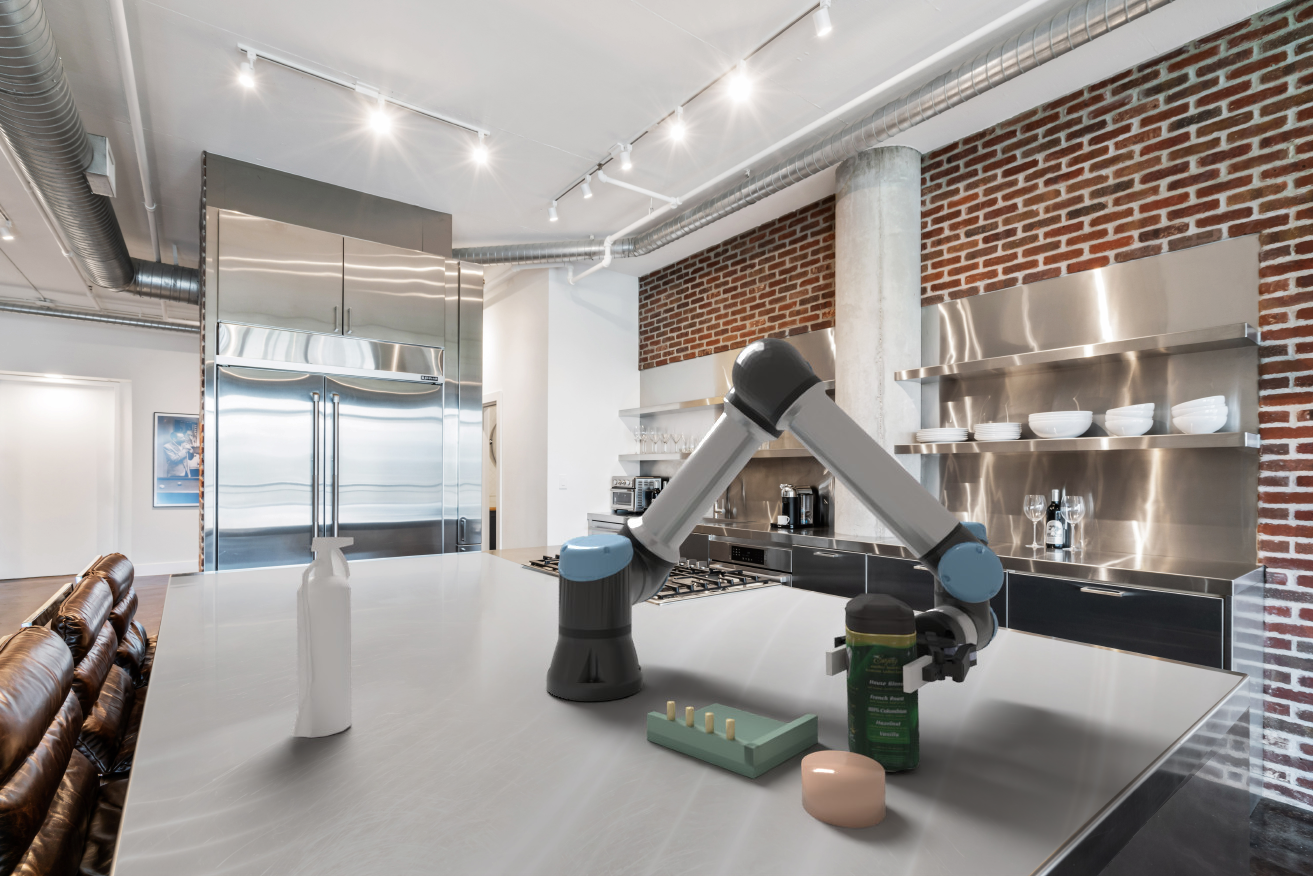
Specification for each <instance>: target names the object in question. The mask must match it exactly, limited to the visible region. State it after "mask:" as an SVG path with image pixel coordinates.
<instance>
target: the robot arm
mask: <svg viewBox="0 0 1313 876" xmlns="http://www.w3.org/2000/svg"><path fill="white" fill-rule="evenodd" d="M731 381H732V386H731V388H730V389H729V390H728V392H727V393H726V394H725V395H724V396H723V397H722V398H723V399H722V400H723V408H724V409H723V412H722V414H721V415H720V416H719V417H718V419H717V420H716V422H714V424H712V426H711V428H710V429H709V430H708V431H707V432H706V434H705V435H704V437H702V439H701V440H700V442H699V443H698V444H697V445H696V446H695V448H694V449H693V450H692V451H691V453H690V455H688V457H687V458H686V459H685V461H684V462H683V463H682V464H681V465H680V467H679V468H678V470H677V471H676V472H675V473H674V474H673V476H672V477H671V478H670V480H669V481H668V482H667V483H666V484H665V485H664V487H663V489H662V490H661V491H660V493H658V495H657V496H656V498H655V499H654V500H653V501H652V503H650V504H649V506H648V508H647V509H646V510H645V511H644V513H642V515H641V516H635V517H629V518H628V519H627V521H626V522H625V523H624V524H623V526H622V527H621V528H620V529H619V531H617V534H613V533H612V534H611V533H603V534H600V533H599V534H590V535H589V534H588V535H587V536H585V535H583V536H578V537H575V538H571V539H568V540H567V541H565V542H564V543H563V544H562V546H561V548H560V550H559V551H560V552H559V561H558V563H557V565H558V566H557V569H558V570H557V571H558V634H557V635H558V637H557V642H556V645H555V647H554V650H553V651H554V652H553V655H552V658H551V662H550V666H549V668H548V670H547V672H546V691H547V690H548V691H547V692H548V693H549V692H550V693H551V694H550V693H549V694H550V695H552V694H553V695H552V696H554V695H555V696H554V697H556V696H558V697H557V698H559V697H561V699H563V698H564V700H568V699H569V700H570V701H578V702H604V701H611V700H612V701H613V700H617V699H622V698H628V697H630V696H632V695H634V694H636V693H639V692H640V690H642V688H643V682H644V681H643V675H644V674H643V670H642V669H643V668H642V666H641V665H640V664H639V658H638V654H637V650H636V646H635V644H634V641H633V637H632V636H633V634H632V632H633V631H632V627H633V624H632V622H633V620H632V618H633V617H632V616H633V606H634V605H637V604H640V603H644V602H647V601H650V600H651V599H652V598H654V597H656V596H657V595H658V594H659V593H660V592H661V591H662V589H664V587H665V585H666V584H667V582H668V580H669V577H670V573H671V572H672V570H673V569H674V568H675V566H676V565H677V564H678V563H679V561H680V559H681V554H680V547H681V545H682V544H683V543H684V542H685V540H686V539H687V538H688V536H689V535H690V534H691V533H692V532H693V531H694V529H695V528H696V526H697V525H698V524H699V523H700V522H701V520H702V519H703V518H704V517H705V515H707V513H708V512H709V511H710V509H711V508H712V507H713V506H714V504H716V502H717V501H718V499H720V497H721V496H722V494H723V493H724V492H725V491H726V489H728V487H729V486H730V485H731V483H732V482H733V481H734V480H735V478H736V477H737V476H738V474H739V473H741V471H742V470H743V468H744V467H745V466H746V465H747V464H748V462H749V461H750V460H751V458H752V457H753V456H754V455H755V454H756V453H757V451H758V450H759V448H760V447H761V446H762V445H763V443H767V442H772V441H773V442H774V441H778V440H779V439H780V438H781V435H782V434H784V432H785V431H787V432H789V433H790V434H791V435H792V436H793V437H794V438H795V439H796V440H797V441H798V442H799V443H800V444H801V445H802V446H803V447H804V448H805V449H806V450H807V451H808V452H809V453H810V454H811V455H812V456H813V457H815V459H816V460H817V461H818V462H819V463H820V464H821V465H822V466H823V467H824V468H825V469H826V470H827V471H828V472H829V473H830V474H831V475H832V476H833V477H834V478H836V479H837V481H838V482H839V483H841V484H842V485H843V486H844V488H845V489H846V490H847V491H849V493H851V495H852V496H854V497H855V498H856V500H858V502H859V503H861V504H862V505H863V506H864V507H865V508H866V510H868V512H870V513H871V514H872V516H874V517H875V518H876V520H877V521H879V522H880V523H881V524H882V525H883V526H884V527H885V528H886V529H887V530H888V531H889V532H890V533H891V534H892V535H893V536H894V537H895V538H896V539H897V540H898V541H899V542H900V543H901V544H902V545H904V547H905V548H906V549H907V550H908V551H909V552H910V553H911V554H912V555H913V556H914V557H915V558H916V559H917V560H918V561H919V562H920V563H921V564H922V565H923V567H925V568H926V569H927V570H928V571H929V573H931V574H932V575H933V581H934V582H933V583H934V590H933V591H934V593H933V595H934V598H933V599H934V608H931V609H929V610H926V611H924V612H921V613H919V614H916V615H915V626H916V646H917V660H915V661H913V662H911V663H909V664H907V665H905V666H903V685H904V692H907V693H912V692H913V691H915V690H917V689H918V690H919V689H921V688H922V687H924V686H925V685H928V683H935V682H937V681H939V682H940V681H945V680H946V678H947V677H949V678H951V681H952V682H955V683H959V684H960V683H964V681H965V679H966V678H967V675H968V673H969V671H970V668H972V667H975V666H977V665H978V660H977V654H978V653H977V652H980V651H981V650H983V649H985V648H987V647H988V646H989V645H990V643H991V642H993V640H994V639H995V637H996V636H997V633H998V630H999V621H998V618H997V617H998V616H997V614H996V612H994V610H993V608H992V607H991V605H990V599H992V598H993V597H995V596H996V595H997V594H998V593H999V592H1000V590H1001V588H1002V586H1003V584H1004V580H1005V571H1004V568H1003V564H1002V562H1001V560H1000V559H1001V558H1000V557H999V555H998V554H996V552H995V551H993V550H992V549H991V547H989V544H990V543H989V540H988V535H987V528H986V526H985V524H983V523H982V522H977V521H976V522H975V521H960V520H959V519H958V518H957V517H956V516H955V515H954V514H953V513H952V512H950V511H949V510H948V509H947V508H946V506H945V505H943V504H942V503H941V502H940V501H939V500H938V499H937V498H936V497H935V496H934V495H933V494H932V493H931V492H930V491H929V490H928V489H926V488H925V487H924V486H923V484H921V483H920V482H919V481H918V480H917V479H916V478H915V477H914V476H912V475H911V473H910V472H909V471H908V470H907V469H905V468H904V467H903V466H902V465H901V464H900V463H899V462H898V461H897V460H896V459H895V458H893V456H892V455H891V454H889V452H887V451H886V449H884V448H883V447H882V446H881V445H880V444H879V443H878V442H877V441H876V440H875V439H874V438H873V437H872V436H871V435H869V433H867V431H865V430H864V429H863V428H862V427H861V426H860V425H859V424H858V423H857V422H856V421H855V420H854V419H853V418H852V417H851V416H850V415H849V414H847V412H845V411H844V409H842V408H841V407H840V406H839V405H838V404H837V403H836V402H835V401H833V399H832V398H830V396H829V395H828V394H827V393H826V382H824V381H823V380H822V379H821V378H820V377H819V376H818V375H817V374H816V373H815V372H814V370H813V367H812V366H811V364H810V362H808V361H807V360H806V359H805V358H804V357H803V355H802V354H801V352H800V351H799V350H798V349H797V348H796V347H795V346H794V345H793V344H791V343H790V342H788V341H786V340H784V339H782V338H777V337H764V338H759V339H756V340H754V341H752V342H750V343H748V344H747V345H746V346H745V347H743V348H742V349H741V350H740V351H739V353H738V354H737V355H736V358H735V360H734V362H733V366H732V369H731ZM833 641H834V646H833V647H834V648H831V649H829V650H827V651H825V673H826V676H831V677H833V676H836V675H838V674H839V673H840V674H841V673H842V672H844V671H846V634H845V635H842V636H836V637H834V638H833Z"/></svg>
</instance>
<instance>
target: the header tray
mask: <svg viewBox="0 0 1313 876" xmlns="http://www.w3.org/2000/svg"><path fill="white" fill-rule="evenodd" d="M818 722H819V721H818V715H816V714H814V713H809V712H808V713H807V714H805V715H803V716H801V717H799V718H797V719H794V720H793V721H791V722H789V723H787V722H784V721H780V720H776V719H773V718H770V717H766V716H762V715H760V714H757V713H756V714H755V713H752V712H750V711H746V710H742V709H739V708H735V707H731V706H727V705H724V704H720V703H718V702H714V703H712V704H710V705H707V706H704V707H702V708H700V709H697V710H695V708H694V707H693V706H687V707H685V715H681V716H679V717H676V702H675V701H673V700H668V701H666V714H664V713H661V712H658V711H655V710H652V711H651V712H647V714H646V740H647V741H649V742H652V743H655V744H657V745H659V746H663V747H665V748H668V749H671V750H674V751H677V752H679V753H681V754H685V755H686V756H687V755H688V756H690V757H692V758H696V759H699V760H701V761H703V762H707V763H709V764H711V765H713V766H717V767H719V768H724V769H726V770H728V771H731V772H734V773H736V774H739V775H742V776H744V777H747V778H750V779H756V778H757V777H760V776H761V775H763V774H765V773H767V772H768V771H770V770H771V769H773V768H775V767H777V766H778V765H780V764H782V763H784V762H786V761H787V760H789V759H792V757H794V756H796V755H797V754H800V753H802V752H803V751H805V750H807V749H809V748H810V747H812V746H814V745H815V744H817V743H818V742H819V731H818V730H819V729H818V728H819V727H818Z"/></svg>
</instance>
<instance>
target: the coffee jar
mask: <svg viewBox="0 0 1313 876" xmlns="http://www.w3.org/2000/svg"><path fill="white" fill-rule="evenodd" d="M844 611H845V615H844V616H845V618H844V619H845V620H844V622H845V625H844V626H845V635H846V670H845V671H846V695H847V697H846V699H847V700H846V702H847V706H846V707H847V709H846V710H847V746H848V752H852V753H856V754H860V755H863V756H866V757H869V758H871V759H873V760H875V761H876V762H878V763H879V764H880V765H881V766H882V767H883V768H884V770H885V772H890V773H892V772H893V773H894V772H899V771H905V770H914V769H916V768H917V767H918V766H919V765H920V761H921V759H920V757H921V756H920V752H921V751H920V746H921V744H920V718H919V715H920V714H919V689H917V690H915V691H913V692H912V693H907V692H904V685H903V666H905V665H907V664H909V663H911V662H913V661H915V660H917V646H916V626H915V616H916V615H915V611H914V610H913V608H912V607H910V605H909V604H908V603H906V602H903V601H902V600H900V599H898V598H896V597H895V596H894V595H893V594H887V593H872V592H871V593H869V592H868V593H867V592H866V593H859V594H858V595H857V596H856V597H853V598H851V599H850V600H848V601H847V602H846V604H845V607H844Z"/></svg>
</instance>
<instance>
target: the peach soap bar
mask: <svg viewBox="0 0 1313 876" xmlns="http://www.w3.org/2000/svg"><path fill="white" fill-rule="evenodd" d="M800 767H801V805H802V807H803V809H804V810H805V812H806V813H807V814H809V815H810V816H811V817H813V818H815V819H816V820H818V821H821V822H822V823H826V824H828V825H831V826H836V827H841V828H849V829H850V828H851V829H853V828H854V829H855V828H856V829H858V828H868V827H872V826H876V825H878V824H880V823H881V822H882V821H884V820H885V818H886V816H887V809H886V808H887V805H886V800H887V799H886V797H887V796H886V771H885V770H884V768H883V767H882V766H881V765H880V764H879V763H878V762H876V761H875V760H873V759H871V758H869V757H866V756H863V755H860V754H856V753H852V752H850V751H846V750H830V749H829V750H820V751H814V752H811V753H809V754H807V755H805V756H804V757H803V758H802V760H801V765H800ZM885 815H886V816H885Z"/></svg>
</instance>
